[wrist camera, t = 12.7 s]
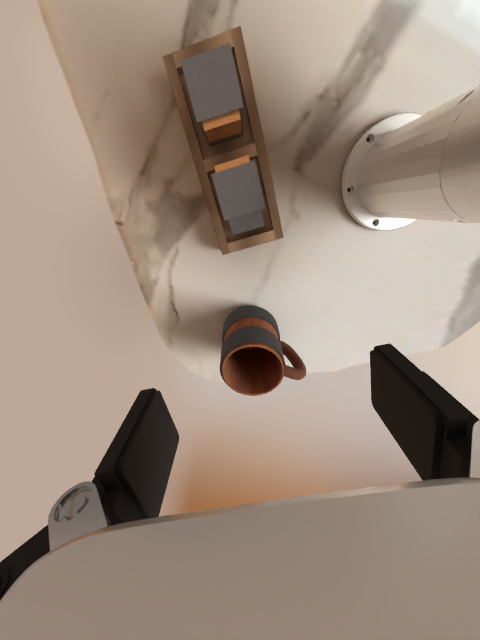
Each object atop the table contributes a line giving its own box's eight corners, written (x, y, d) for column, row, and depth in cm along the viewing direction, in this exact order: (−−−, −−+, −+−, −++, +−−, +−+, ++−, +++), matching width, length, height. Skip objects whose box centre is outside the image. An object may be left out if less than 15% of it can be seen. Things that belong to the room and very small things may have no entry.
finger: (228, 69, 27) (222, 6, 18) (244, 142, 29) (245, 115, 21) (192, 82, 27) (170, 26, 19) (211, 152, 30) (199, 130, 21)
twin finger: (250, 167, 30) (253, 152, 22) (263, 224, 33) (270, 230, 24) (218, 178, 31) (209, 166, 22) (233, 233, 33) (230, 241, 25)
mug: (284, 363, 43) (298, 414, 33) (217, 343, 42) (208, 389, 31) (305, 320, 40) (328, 360, 29) (233, 296, 39) (229, 329, 28)
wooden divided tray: (240, 47, 27) (240, 26, 24) (279, 234, 35) (283, 237, 32) (171, 74, 28) (162, 56, 25) (224, 250, 36) (222, 254, 33)
